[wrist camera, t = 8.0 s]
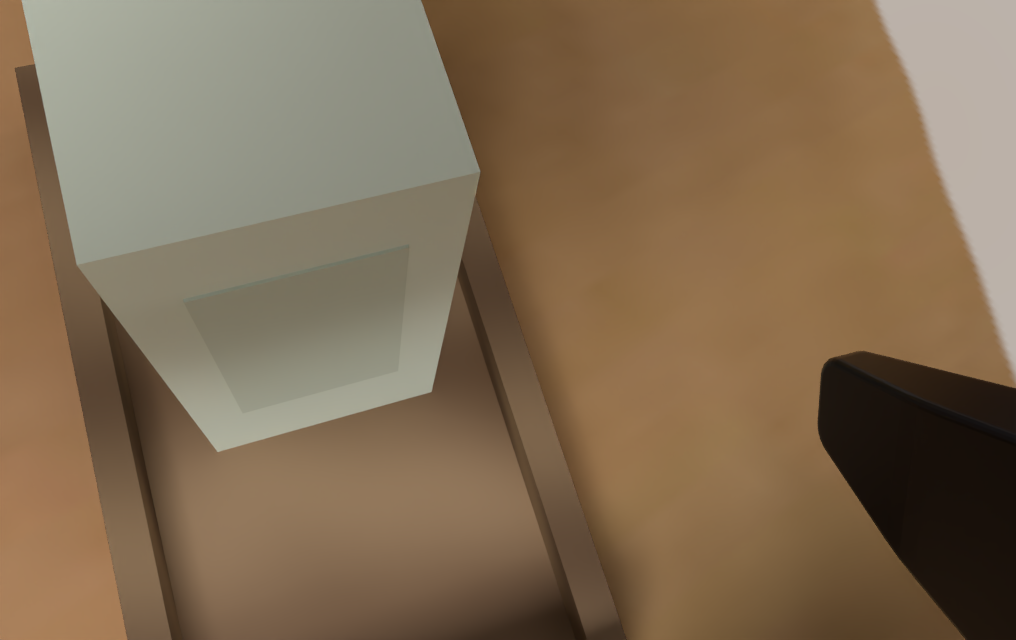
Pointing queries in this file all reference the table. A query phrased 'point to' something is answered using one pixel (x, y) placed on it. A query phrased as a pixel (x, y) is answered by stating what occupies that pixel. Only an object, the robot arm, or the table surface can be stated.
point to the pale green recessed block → (262, 196)
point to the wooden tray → (336, 486)
